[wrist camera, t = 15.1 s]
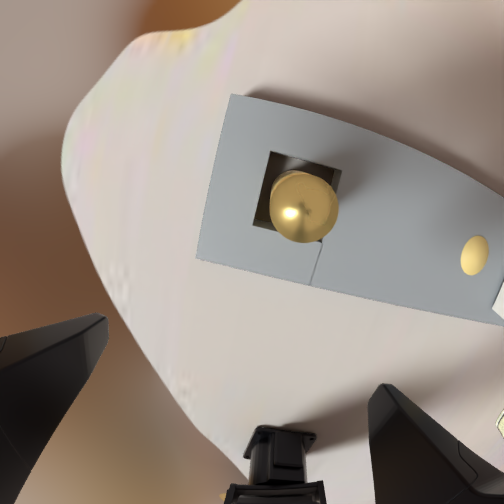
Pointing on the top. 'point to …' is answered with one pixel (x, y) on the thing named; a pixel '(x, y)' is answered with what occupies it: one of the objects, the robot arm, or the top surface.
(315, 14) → the top surface
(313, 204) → the pin
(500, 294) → the cover
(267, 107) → the board
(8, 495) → the robot arm
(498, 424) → the coffee can
